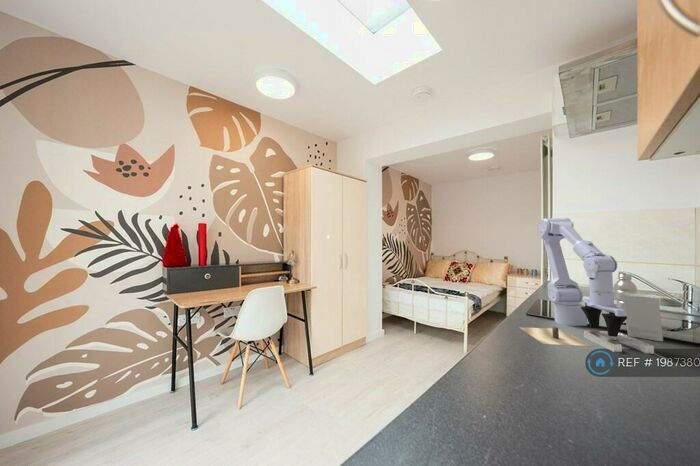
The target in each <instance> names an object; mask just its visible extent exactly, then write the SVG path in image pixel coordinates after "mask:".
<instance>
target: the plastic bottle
mask: <svg viewBox="0 0 700 466" xmlns="http://www.w3.org/2000/svg"><path fill="white" fill-rule="evenodd" d="M617 279H618V280H617V281H616V282H615V283H614V284H613V292H614V295H615V298H616V307H618V308H620V309H622V310H625V307H624V296H623V293H632V294H638V288H637V286H636V284H635V283H634V282H633V281H632V280H633V278H632V274H628V273H618V274H617ZM625 316H626V315H625ZM624 322H626V320H625V321H624Z"/></svg>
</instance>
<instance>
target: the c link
mask: <svg viewBox="0 0 700 466" xmlns="http://www.w3.org/2000/svg"><path fill="white" fill-rule="evenodd" d="M583 338H585V339H587V340H590V341H591V342H593V343H595V344H597V345H600V346H601V347H603V348H605V349H608V350H609V351H612V352H613V353H622V352H623V349H622V348H623V347H622V344H624V345H625V346H627V347H628V346H629V347H631V348H633V349H635V350H638V351H639V352H641V353H643V354H647V355H649V354H650V355H651V354H652V355H655V354H654V353H655V348H654V345H652V344H649V343H647V342H644V341H642V340H639V339H636V337H630V336H628V334H625V333H622V332H620V331H619V333H618V336H617V337H616V336H609V335H608V332H607V330H585V329H584V330H583Z"/></svg>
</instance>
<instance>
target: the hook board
mask: <svg viewBox="0 0 700 466" xmlns="http://www.w3.org/2000/svg"><path fill="white" fill-rule="evenodd" d="M519 329H520V330H522V331H523V332H525V333H526V334H528V335H529V336H531V337H532V338H534V339H535V340H537V341H538V342H540V343H541V344H543V345H558V346H561V345H562V346H578V347H579V346H581V347H593V345H592V344H589V342H586V341H584V340H582V339H580V338H578V337H577V336H574V335H573V334H571V333H569V332H567V331H565V330H563V329H561V328H559V327H557V326H552V327H551V328H550V327H545V328H544V327H519Z"/></svg>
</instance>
